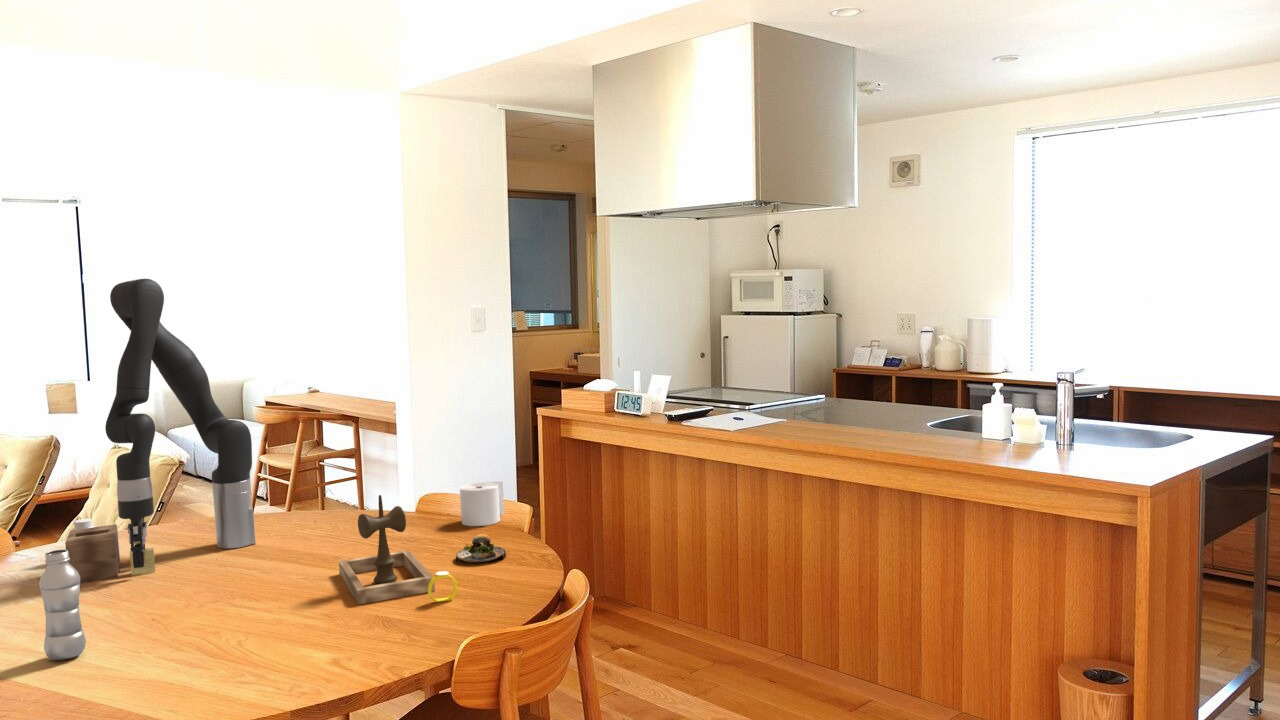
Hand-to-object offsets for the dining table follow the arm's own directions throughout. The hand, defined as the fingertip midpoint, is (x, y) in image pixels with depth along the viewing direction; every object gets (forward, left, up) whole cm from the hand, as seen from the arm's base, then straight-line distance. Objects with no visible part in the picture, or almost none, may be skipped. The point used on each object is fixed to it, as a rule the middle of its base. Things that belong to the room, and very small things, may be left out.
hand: (139, 563), depth 232 cm
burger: (-74, +35, -3) cm, 82 cm away
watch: (-58, +61, -3) cm, 84 cm away
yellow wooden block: (-1, 0, -3) cm, 3 cm away
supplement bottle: (+13, -22, -3) cm, 25 cm away
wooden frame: (-50, +41, -2) cm, 65 cm away
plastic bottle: (+11, +54, -3) cm, 55 cm away
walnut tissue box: (+10, -6, -2) cm, 12 cm away
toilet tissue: (-85, -1, -3) cm, 85 cm away
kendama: (-50, +41, -3) cm, 65 cm away
